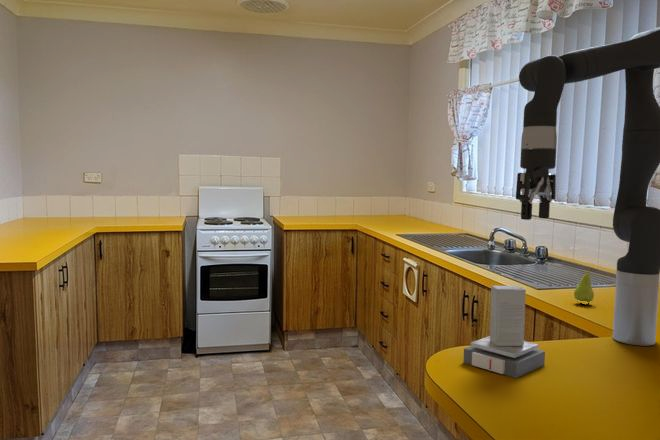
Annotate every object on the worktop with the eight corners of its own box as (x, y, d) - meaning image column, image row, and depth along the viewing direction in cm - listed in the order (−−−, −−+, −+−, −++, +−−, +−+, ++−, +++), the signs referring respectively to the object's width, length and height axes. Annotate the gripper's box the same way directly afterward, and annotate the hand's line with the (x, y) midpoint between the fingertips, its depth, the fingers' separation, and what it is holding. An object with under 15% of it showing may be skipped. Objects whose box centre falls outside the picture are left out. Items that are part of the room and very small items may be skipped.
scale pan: (495, 339, 121) (495, 334, 121) (538, 350, 114) (538, 344, 114) (470, 348, 114) (470, 342, 114) (514, 360, 107) (514, 354, 107)
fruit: (569, 303, 175) (571, 266, 175) (584, 302, 177) (586, 265, 176) (582, 307, 170) (584, 269, 169) (597, 306, 172) (599, 268, 171)
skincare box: (516, 340, 116) (519, 285, 115) (524, 346, 112) (526, 289, 111) (488, 340, 116) (490, 285, 115) (494, 346, 112) (497, 289, 111)
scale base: (493, 351, 123) (493, 338, 123) (544, 365, 114) (545, 351, 114) (460, 363, 114) (461, 349, 114) (513, 379, 105) (514, 364, 105)
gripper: (537, 149, 130) (534, 217, 132) (507, 146, 121) (504, 218, 122) (568, 148, 125) (565, 219, 126) (539, 145, 115) (536, 221, 116)
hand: (535, 218), depth 124 cm, fingers open, 8 cm apart
